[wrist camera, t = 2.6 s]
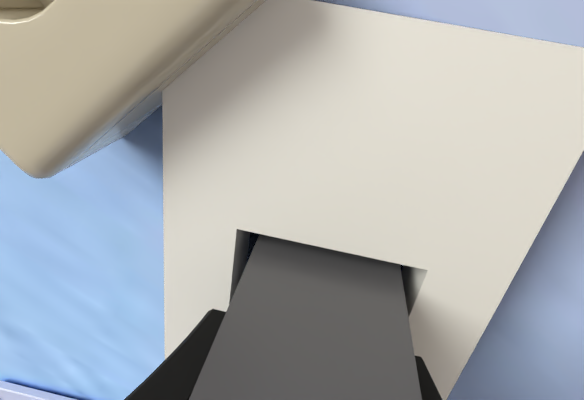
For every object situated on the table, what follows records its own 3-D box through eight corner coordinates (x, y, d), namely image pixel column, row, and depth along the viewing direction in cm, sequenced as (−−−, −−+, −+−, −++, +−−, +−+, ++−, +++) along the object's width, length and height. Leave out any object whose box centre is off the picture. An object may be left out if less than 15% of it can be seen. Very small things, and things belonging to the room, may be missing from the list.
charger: (364, 330, 14) (369, 600, 7) (255, 305, 14) (173, 548, 8) (395, 238, 12) (437, 499, 6) (268, 211, 12) (174, 432, 6)
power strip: (356, 512, 19) (355, 581, 17) (183, 467, 20) (160, 528, 17) (578, 46, 9) (657, 61, 6) (198, -20, 9) (146, -28, 7)
